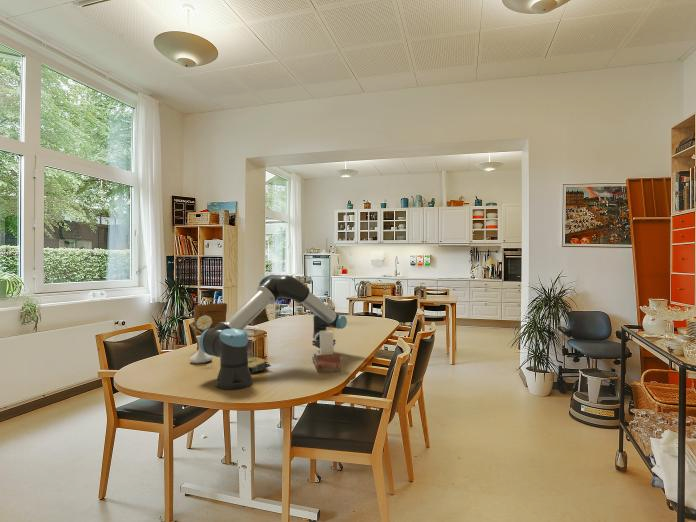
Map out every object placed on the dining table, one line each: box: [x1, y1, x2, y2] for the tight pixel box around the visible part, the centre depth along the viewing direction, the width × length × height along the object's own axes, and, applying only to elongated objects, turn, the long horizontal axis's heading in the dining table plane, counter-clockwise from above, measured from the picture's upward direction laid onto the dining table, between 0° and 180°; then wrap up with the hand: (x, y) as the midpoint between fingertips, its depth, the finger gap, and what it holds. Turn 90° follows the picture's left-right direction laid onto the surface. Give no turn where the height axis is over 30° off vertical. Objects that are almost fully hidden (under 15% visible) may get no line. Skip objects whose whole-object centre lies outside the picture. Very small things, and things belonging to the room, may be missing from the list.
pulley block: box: [248, 355, 272, 374], centre depth 205 cm, size 14×6×30 cm
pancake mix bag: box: [193, 302, 228, 352], centre depth 245 cm, size 7×19×28 cm, turn 111°
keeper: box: [319, 329, 334, 355], centre depth 202 cm, size 6×6×16 cm
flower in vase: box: [189, 315, 213, 364], centre depth 216 cm, size 13×11×25 cm
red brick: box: [311, 353, 341, 373], centre depth 207 cm, size 24×11×8 cm, turn 11°
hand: (328, 348), depth 206 cm, fingers closed
